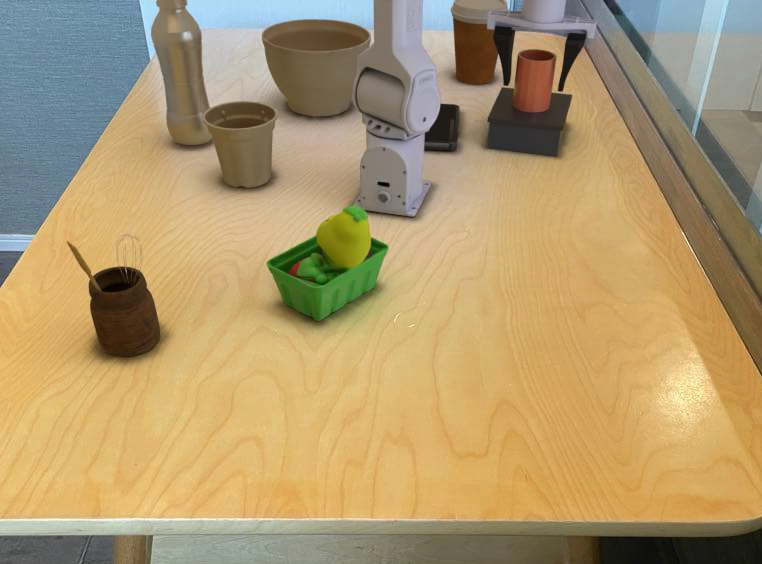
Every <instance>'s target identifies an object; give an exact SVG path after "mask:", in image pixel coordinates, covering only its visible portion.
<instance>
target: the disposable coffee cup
mask: <svg viewBox="0 0 762 564" xmlns="http://www.w3.org/2000/svg"><path fill="white" fill-rule="evenodd" d="M491 10H492V11H510V9H509V6H508V1H507V0H453V4H452V6H451V7H450V13H451V16H452V24H453V25H452V26H453V40H454V41H453V43H454V60H455V61H454V62H455V77H456V79H457V80H458V81H460V82H462V83H464V84H469V85H485V84H489V83H490V82H492V81H494V78H495V72H496V67H497V64H498V59H499V58H498V57H499V54H498V51H497V48H496V46H495V43H494V40H493V35H494V31H495V29H494V30H491V29H487V20H488V14H489V12H490V11H491Z"/></svg>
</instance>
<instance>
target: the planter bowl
mask: <svg viewBox="0 0 762 564" xmlns="http://www.w3.org/2000/svg"><path fill="white" fill-rule="evenodd" d="M261 41H262V44H263V47H264V56H265V60H266V64H267V68H268V71H269V73H270V75H271V78H272V80H273V82H274V84H275V85H276V87H277V89H278V90H279V92H280V93H281V94H282V95H283V97H284V98H285V99H286V102H287V106H288V108H289V109H290V110H291V111H293V112H294V113H296V114H299V115H303V116H308V117H331V116H336V115H339V114H341V113H344V112H346V111H347V110H348V109H349V107H350V103H351V99H352V88H353V83H354V80H355V77H356V73H357V57H358V56H359V55H360V54H361V53H362V52H363V51H364V50H365V49H367V48H368V47H369V46H371V41H372V34H371V32H370V31H369V30H368V29H367V28H365V27H363V26H361V25H359V24H356V23H352V22H348V21H344V20H337V19H327V18H326V19H323V18H305V19H303V18H302V19H293V20H287V21H281V22H278V23H275V24H272V25H270V26H268V27H266V28H265V29H264V30H262V33H261Z"/></svg>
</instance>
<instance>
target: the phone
mask: <svg viewBox="0 0 762 564" xmlns="http://www.w3.org/2000/svg"><path fill="white" fill-rule="evenodd" d="M460 110H461V109H460V105H458V104H455V103H441V104H440V110H439V113H438V116H437V118H436V120H435V122H434V123H433V125H432V126H431V127H430V129H429V131H428V132H425V141H424V151H443V152H452V151H456V150H457V149H458V147H457V146H458V142H459V141H458V139H459V124H460V123H459V121H460Z"/></svg>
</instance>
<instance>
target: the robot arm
mask: <svg viewBox="0 0 762 564" xmlns="http://www.w3.org/2000/svg"><path fill="white" fill-rule="evenodd" d="M566 4H567V0H522V4H521V10H509V11H492V10H491V11H490V12H489V14H488V20H487V29H491V30H494V29H495V31H494V35H493V40H494V43H495V46H496V48H497V51H498V57H499V60H500V65H501V71H502V80H503V81H502V82H503V83H502V84H503V87H509V85H510V83H511V78H512V66H513V51H514V45H515V44H514V43H515V37H516V32H517V31H520V32H528V33H529V32H531V33H540V34H541V33H542V34H552V35H561V36H562V35H563V36H566V39H565V43H564V50H563V57H562V58H563V59H562V66H561V71H560V77H559V82H558V84H557V92H559V93H561V92H563V91H564V89H565V84H566V80H567V78H568V75H569V73H570V72H571V69H572V67H573V65H574V63H575V61H576V60H577V58H578V56H579V54H580V53H581V51H582V50H583V48H584V46H585V43H586V40H587V39H588V40H594V39H595V35H596V31H597V24H598V19H591V18H585V17H579V16H575V15H569V14H566V13H565V11H566ZM423 10H424V0H373V43H372V44H370V46H369V47H368V48H367V49H365V50H364V51H363V52H362V53H361V54H360V55H359V56H358V57H357V73H356V77H355V80H354V83H353V88H352V98H351V99H352V103H353V105H354V108H355V110H357V112H359V113H360V114H361V123H362V124H364V125H365V139H366V140H365V146H366V147H365V150H364V153H363V154H362V156H361V159H360V163H359V164H360V165H359V170H360V171H359V176H360V177H359V178H360V179H359V180H360V181H359V185H360V191H359V192H360V194H359V195H358V196H357V198H356V199H355V201H354V203H353V205H352V206H357V207H361V208H363V209H364V210H365V211H366V212H367V211H369V212H375V213H382V214H389V215H397V216H403V217H411V218H412V217H416V215H417V213H418V211H419V210H420V207H421V205H422V204H423V201H424V199H425V198H426V195H428V192H429V190H430V188H431V185H432V182H431V181H429V180H424V164H425V150H424V141H425V132H428V131H429V129H430V127H431V126H432V125H433V123H434V122H435V120H436V118H437V116H438V113H439V110H440V104H442V103H441V101H442V97H441V92H440V88H439V85H438V81H437V65H436V64H435V62H434V61H433V59H432V58H431V56H430V55H429V53H428V51H427V50H426V49H425V46H424V45H423V13H424V11H423Z"/></svg>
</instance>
